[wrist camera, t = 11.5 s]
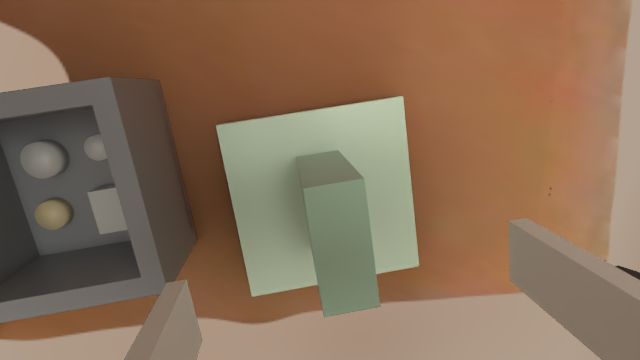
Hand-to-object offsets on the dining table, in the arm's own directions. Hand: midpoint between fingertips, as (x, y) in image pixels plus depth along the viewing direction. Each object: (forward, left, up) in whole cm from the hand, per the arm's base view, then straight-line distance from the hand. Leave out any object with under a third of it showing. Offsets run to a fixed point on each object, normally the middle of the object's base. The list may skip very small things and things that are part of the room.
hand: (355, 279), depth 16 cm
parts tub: (-4, -16, -15) cm, 22 cm away
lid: (0, 0, -15) cm, 15 cm away
